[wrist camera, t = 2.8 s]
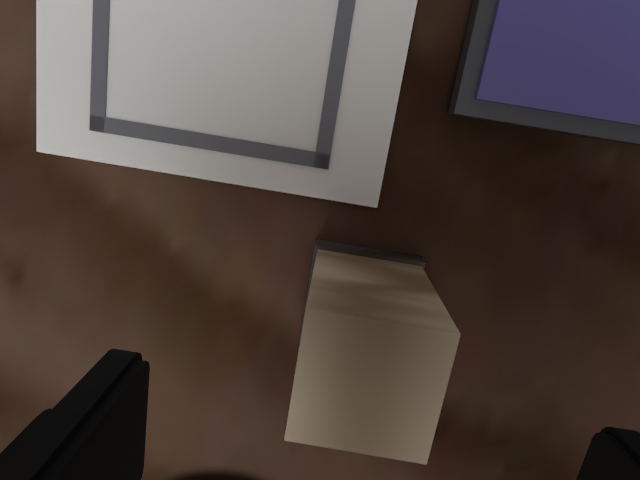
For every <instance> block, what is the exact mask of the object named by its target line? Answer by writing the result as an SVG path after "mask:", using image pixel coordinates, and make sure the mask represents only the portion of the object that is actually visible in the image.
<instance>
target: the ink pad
mask: <svg viewBox="0 0 640 480" xmlns="http://www.w3.org/2000/svg"><path fill="white" fill-rule="evenodd" d="M448 115H454V116H461V117H467V118H473V119H479V120H485V121H491V122H497V123H503V124H509V125H516V126H522V127H528V128H534V129H540V130H546V131H552V132H558V133H564V134H571V135H577V136H583V137H589V138H595V139H601V140H607V141H613V142H619V143H626V144H632V145H638V146H640V0H473V3H472V7H471V12H470V16H469V21H468V25H467V30H466V34H465V39H464V43H463V48H462V52H461V57H460V61H459V66H458V70H457V75H456V79H455V84H454V88H453V93H452V97H451V102H450V106H449V111H448Z"/></svg>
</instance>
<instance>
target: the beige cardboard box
mask: <svg viewBox="0 0 640 480" xmlns="http://www.w3.org/2000/svg"><path fill="white" fill-rule="evenodd" d="M425 267H426V262H425V260H424V259H423V257H422V256H416V255H410V254H404V253H398V252H392V251H386V250H380V249H374V248H368V247H362V246H356V245H350V244H344V243H338V242H332V241H326V240H320V239H316V241H315V245H314V251H313V257H312V263H311V269H310V276H309V282H308V288H307V294H306V300H305V307H304V313H303V319H302V325H301V331H300V337H299V344H298V346H299V352H298V358H297V364H296V371H295V377H294V383H293V389H292V395H291V401H290V408H289V414H288V420H287V426H286V432H285V438H284V441H290V442H296V443H302V444H308V445H314V446H319V447H325V448H331V449H337V450H343V451H349V452H355V453H361V454H366V455H372V456H378V457H384V458H390V459H396V460H402V461H408V462H413V463H419V464H425V465H427V461H428V458H429V454H430V450H431V446H432V442H433V438H434V435H435V431H436V427H437V423H438V419H439V416H440V412H441V408H442V404H443V400H444V396H445V393H446V389H447V385H448V381H449V377H450V374H451V370H452V366H453V362H454V358H455V354H456V351H457V347H458V343H459V339H460V335H461V334H460V332H459V330H458V329H457V327H456V325H455V323H454V322H453V320H452V318H451V316H450V315H449V313H448V311H447V309H446V308H445V306H444V304H443V302H442V301H441V299H440V297H439V295H438V294H437V292H436V290H435V289H434V287H433V285H432V283H431V282H430V280H429V278H428V276H427V275H426V273H425Z"/></svg>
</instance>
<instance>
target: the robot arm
mask: <svg viewBox="0 0 640 480" xmlns="http://www.w3.org/2000/svg"><path fill="white" fill-rule="evenodd" d="M149 370H150V367H149V362H148V361H142V356H141V354H140V353H137V352H131V351H125V350H118V349H111V350H109V351H108V352H107V353H106V354H105V355H104V356H103V357H102V358H101V359H100V360H99V361H98V362H97V363H96V364H95V365H94V367H93V368H92V369H91V370H90V371H89V372H88V373H87V374H86V375H85V376H84V377H83V378H82V379H81V380H80V381H79V382H78V383H77V384H76V385H75V386H74V387H73V388H72V389H71V390H70V391H69V392H68V393H67V395H66V396H65V397H64V398H63V399H62V400H61V401H60V402H59V403H58V404H57V405H56V406H55V407H54V408H53V409H48V410H45V411H43V412H42V413H41V414H39V415H38V416H37V417H36V418H35V419H34V420H33V421H32V422H31V423H30V424H29V425H28V426H27V427H26V428H25V429H24V430H23V431H22V432H21V433H20V434H19V435H18V436H17V437H16V438H15V439H14V440H13V441H12V442H11V443H10V444H9V445H8V446H7V447H6V448H5V449H4V450H3V451H2V452H1V453H0V480H141V477H142V473H143V468H144V453H145V437H146V420H147V403H148V386H149ZM576 480H640V433H639V432H637V431H633V430H626V429H620V428H614V427H605V428H604V429H602V430H601V432H600V433H596V434H595V435H594V436H593V438H592V440H591V443H590V445H589V448H588V451H587V453H586V456H585V458H584V461H583V464H582V466H581V469H580V471H579V474H578V476H577V479H576Z"/></svg>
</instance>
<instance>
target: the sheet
mask: <svg viewBox="0 0 640 480" xmlns="http://www.w3.org/2000/svg"><path fill="white" fill-rule="evenodd" d="M416 5H417V0H36V55H37V152H42V153H48V154H54V155H60V156H66V157H72V158H78V159H84V160H90V161H96V162H102V163H108V164H114V165H121V166H127V167H133V168H139V169H145V170H151V171H157V172H163V173H169V174H175V175H181V176H187V177H193V178H199V179H205V180H211V181H217V182H223V183H229V184H235V185H242V186H248V187H254V188H260V189H266V190H272V191H278V192H284V193H290V194H296V195H302V196H308V197H314V198H320V199H326V200H332V201H338V202H344V203H350V204H356V205H362V206H369V207H375V208H377V207H378V201H379V196H380V191H381V186H382V181H383V176H384V170H385V165H386V160H387V155H388V150H389V145H390V139H391V134H392V129H393V124H394V119H395V114H396V109H397V103H398V98H399V93H400V88H401V83H402V78H403V72H404V67H405V62H406V57H407V52H408V47H409V41H410V36H411V31H412V26H413V21H414V16H415V11H416Z"/></svg>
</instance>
